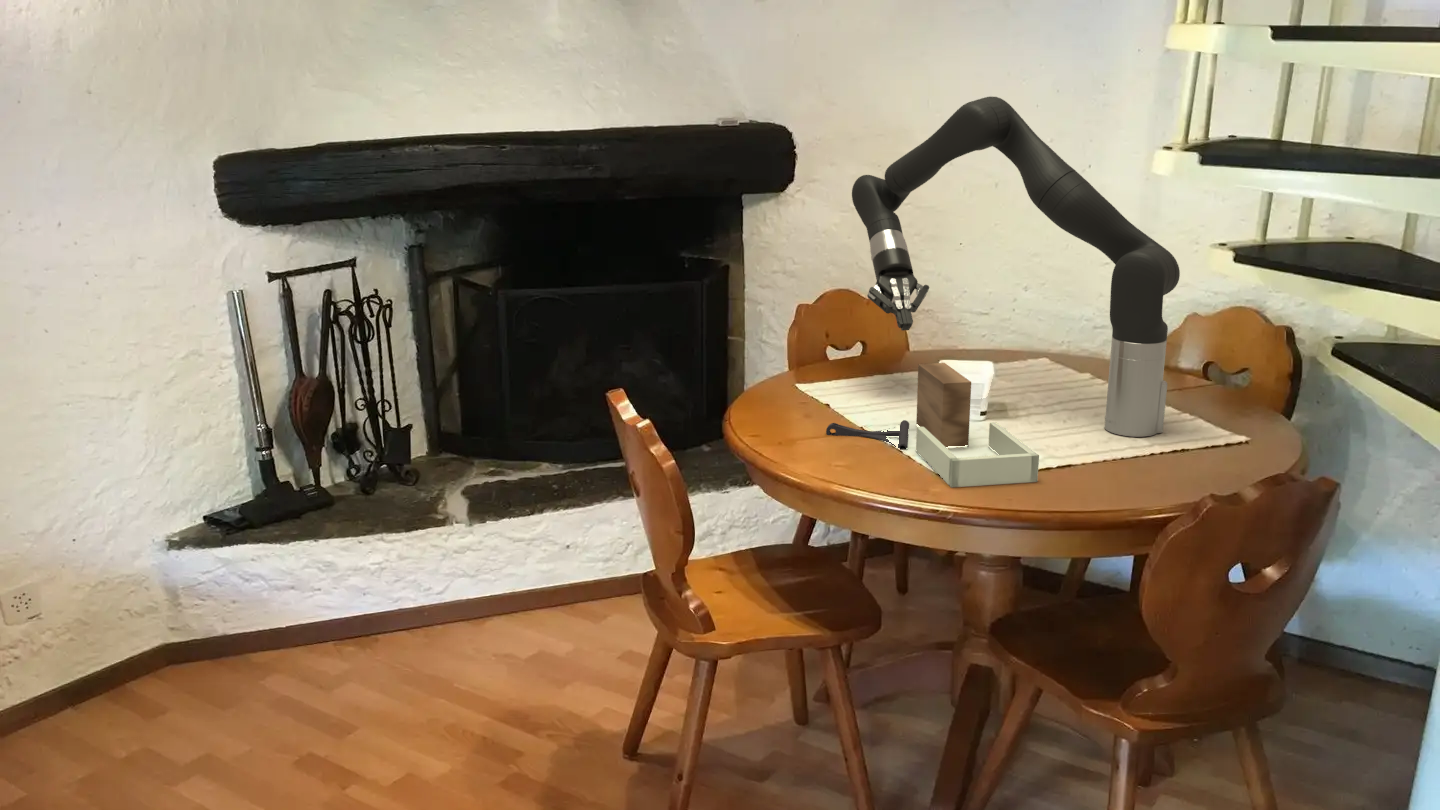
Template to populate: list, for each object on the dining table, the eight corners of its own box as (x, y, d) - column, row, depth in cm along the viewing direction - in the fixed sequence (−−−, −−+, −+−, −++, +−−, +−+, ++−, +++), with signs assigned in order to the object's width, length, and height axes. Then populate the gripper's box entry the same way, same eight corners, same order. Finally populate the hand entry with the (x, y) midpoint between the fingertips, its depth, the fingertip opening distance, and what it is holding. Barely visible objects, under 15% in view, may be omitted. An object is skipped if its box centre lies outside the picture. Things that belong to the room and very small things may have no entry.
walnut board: (941, 424, 209) (944, 362, 206) (968, 447, 196) (971, 382, 192) (916, 426, 209) (918, 364, 205) (940, 449, 195) (943, 383, 192)
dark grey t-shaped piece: (829, 425, 212) (830, 411, 211) (909, 428, 209) (909, 414, 208) (822, 450, 198) (822, 435, 197) (907, 453, 195) (907, 438, 195)
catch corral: (994, 446, 196) (996, 422, 195) (1037, 481, 179) (1039, 455, 177) (915, 451, 194) (916, 426, 193) (951, 487, 177) (952, 460, 176)
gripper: (862, 247, 224) (878, 319, 216) (926, 245, 226) (943, 316, 217) (855, 269, 230) (870, 340, 222) (917, 267, 232) (934, 336, 224)
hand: (906, 328), depth 220 cm, fingers closed
